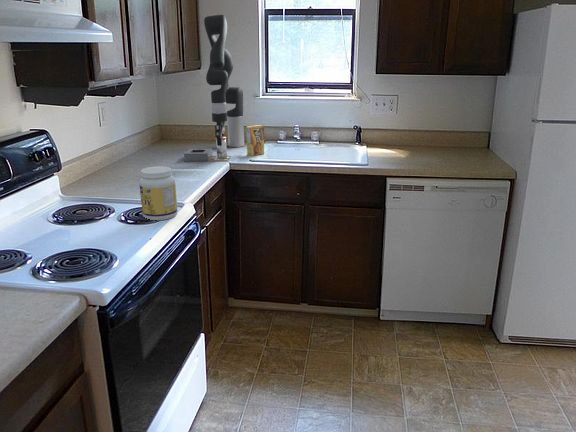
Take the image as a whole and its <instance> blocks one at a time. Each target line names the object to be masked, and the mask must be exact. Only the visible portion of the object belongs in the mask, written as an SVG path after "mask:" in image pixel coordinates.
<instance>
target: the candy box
mask: <svg viewBox="0 0 576 432" xmlns="http://www.w3.org/2000/svg"><path fill="white" fill-rule="evenodd" d="M245 129H246V155H247V156H251V157H253V156H259V155H263V154H264V155H265V126H264V125H262V124H258V125H250V126H249V125H248V126H246V128H245Z"/></svg>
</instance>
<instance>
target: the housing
mask: <svg viewBox="0 0 576 432" xmlns="http://www.w3.org/2000/svg"><path fill="white" fill-rule="evenodd" d="M212 156H213V149H212V148H188V150H186V151H185V152H184V153H183V159H184V160H183V161H209V160H210V158H211V157H212Z"/></svg>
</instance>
